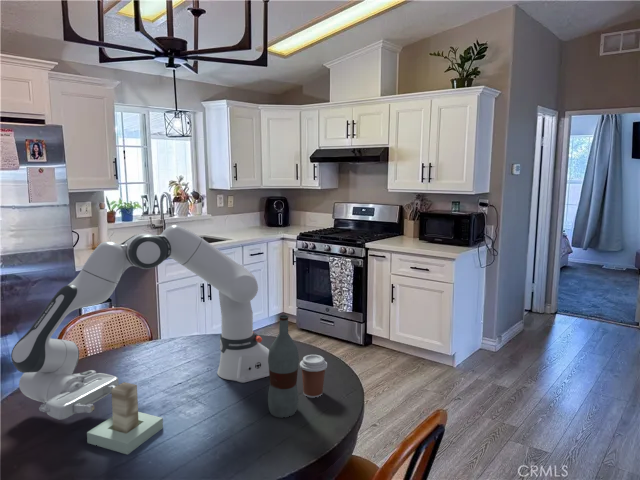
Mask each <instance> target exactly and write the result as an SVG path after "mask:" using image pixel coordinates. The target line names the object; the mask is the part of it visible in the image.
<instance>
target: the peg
mask: <svg viewBox="0 0 640 480" xmlns="http://www.w3.org/2000/svg"><path fill="white" fill-rule="evenodd" d="M111 392H112V394H111V405H112V406H111V409H112V411H111V412H112V416H113V430H115V431H119V432H122V433H126V434H127V433H128V432H130V431H131V430H133V429H134V428H135V427H137V426H138V425H139V421H138V412H139V406H138V405H139V400H138V385H137V384H134V383H131V382H130V383H129V382H126V381H123V382H122V383H120V384H119V385H118V386H116V387H114V388H112V389H111Z"/></svg>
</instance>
